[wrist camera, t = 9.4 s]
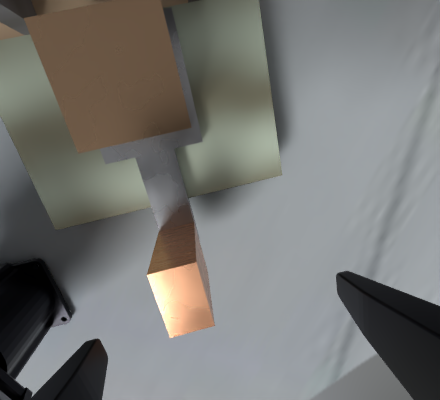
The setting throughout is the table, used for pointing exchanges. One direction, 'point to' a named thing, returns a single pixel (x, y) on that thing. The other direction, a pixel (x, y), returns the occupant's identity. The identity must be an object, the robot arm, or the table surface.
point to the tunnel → (187, 155)
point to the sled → (135, 127)
